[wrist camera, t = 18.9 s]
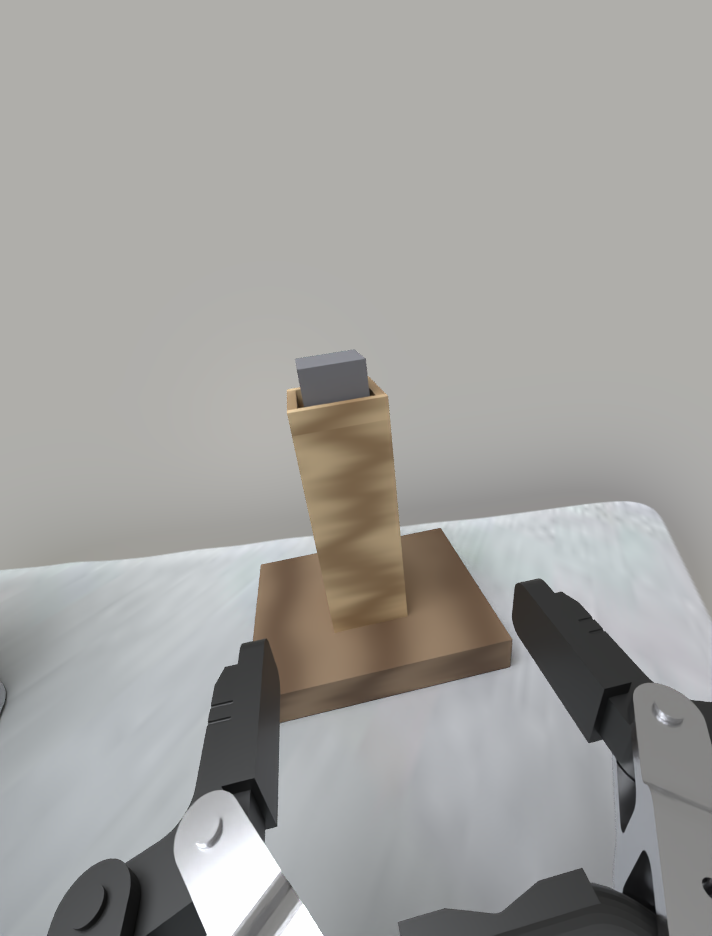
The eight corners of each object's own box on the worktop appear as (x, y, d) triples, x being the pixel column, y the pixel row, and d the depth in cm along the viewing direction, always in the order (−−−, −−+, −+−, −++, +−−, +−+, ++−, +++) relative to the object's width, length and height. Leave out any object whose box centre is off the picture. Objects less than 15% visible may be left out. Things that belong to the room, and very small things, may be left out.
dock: (257, 728, 22) (246, 702, 21) (267, 586, 33) (260, 564, 32) (510, 666, 24) (512, 639, 23) (441, 550, 34) (440, 527, 33)
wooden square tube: (334, 632, 25) (287, 413, 18) (327, 580, 29) (287, 389, 22) (407, 616, 25) (387, 396, 18) (389, 567, 30) (368, 376, 23)
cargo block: (308, 428, 19) (296, 369, 18) (305, 409, 22) (295, 358, 21) (372, 416, 20) (365, 358, 18) (360, 400, 23) (354, 349, 21)
